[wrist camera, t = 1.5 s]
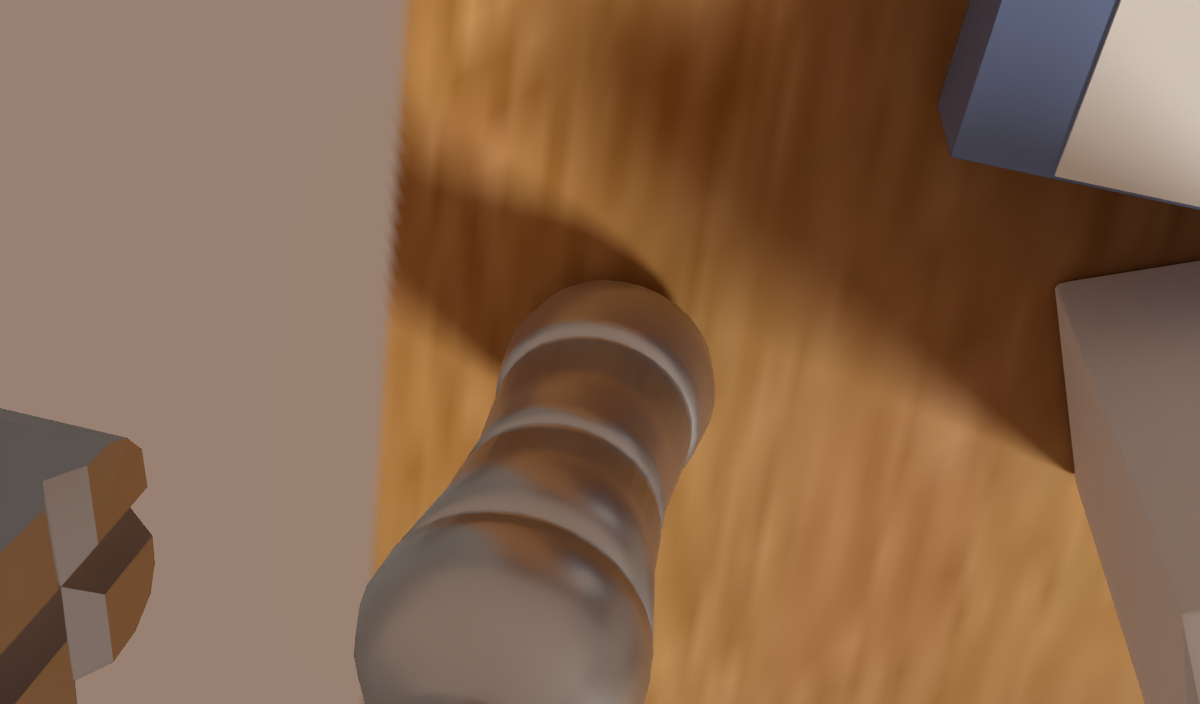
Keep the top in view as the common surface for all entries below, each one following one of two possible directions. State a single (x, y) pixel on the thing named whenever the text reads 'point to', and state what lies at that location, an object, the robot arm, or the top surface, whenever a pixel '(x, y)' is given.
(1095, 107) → the navy carton
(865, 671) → the top surface
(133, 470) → the robot arm
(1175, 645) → the milk carton
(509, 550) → the plastic bottle
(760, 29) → the top surface
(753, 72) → the top surface
